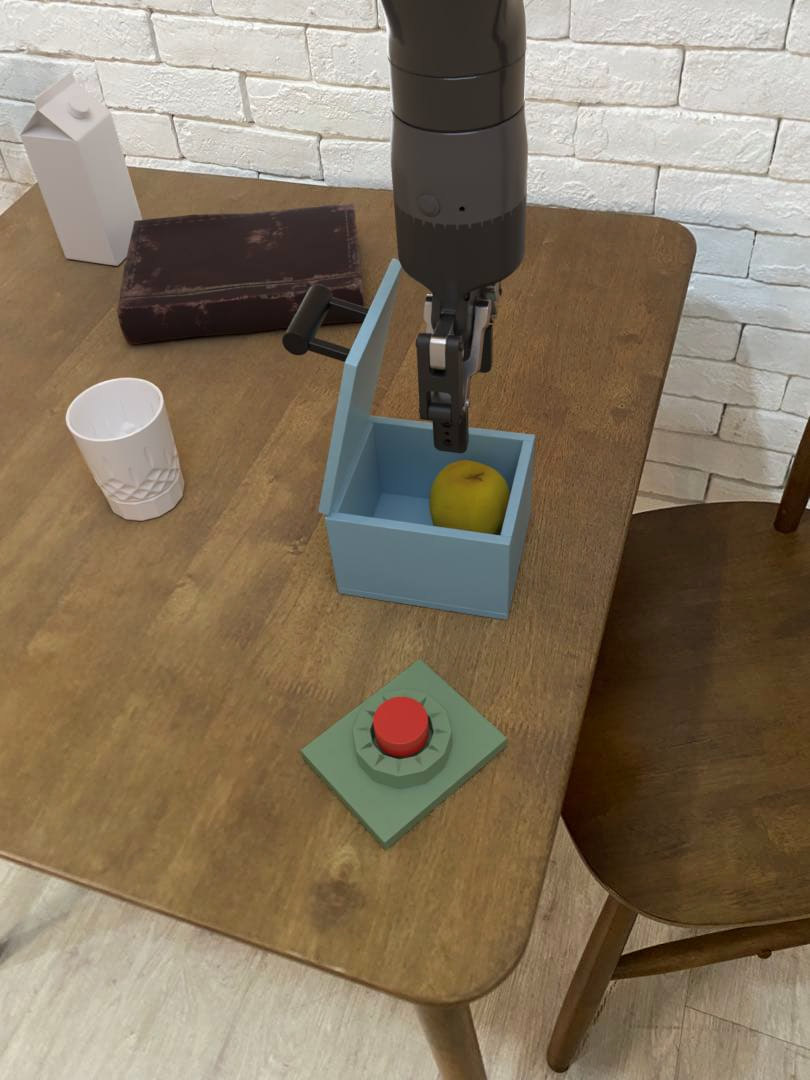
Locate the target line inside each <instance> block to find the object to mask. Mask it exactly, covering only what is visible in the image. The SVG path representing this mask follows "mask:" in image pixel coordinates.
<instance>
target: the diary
mask: <svg viewBox="0 0 810 1080" xmlns="http://www.w3.org/2000/svg"><path fill="white" fill-rule="evenodd" d="M361 264H362V263H361V253H360V245H359V235H358V228H357V217H356V207H355V203H354V202H346V203H345V202H344V203H336V204H335V203H334V204H325V205H317V206H307V207H296V208H286V209H275V210H267V211H257V212H256V211H255V212H246V213H245V212H244V213H243V212H242V213H241V212H240V213H206V214H205V213H201V214H199V213H198V214H186V215H176V216H167V217H166V216H165V217H157V218H148V219H142V220H138V221H134V225H133V230H132V234H131V239H130V243H129V248H128V253H127V257H126V258H125V262H124V269H123V274H122V280H121V286H120V292H119V297H118V298H119V299H118V304H117V308H116V313H117V318H118V323H119V327H120V330H121V333H122V335H123V338H124V339H125V341H126V343H127V344H128V345H139V344H147V343H153V342H160V341H161V342H162V341H169V340H177V339H183V338H185V339H186V338H193V337H205V336H217V335H218V336H220V335H231V334H232V335H233V334H243V333H244V334H246V333H255V332H263V331H270V330H278V329H287V328H288V327H289V325H290V323H291V321H292V319H293V318H294V316H295V314H296V312H297V310H298V308H299V307H300V305H301V303H302V301H303V299H304V297H305V295H306V294H307V292H308V290H309V288H310V287H311V286H313V285H323V286H325V287H327V288H328V289H329V290H330V291H331V293H332V295H333V297H334V298H337V299H340V300H343V301H346V302H349V303H353V304H356V305H359V306H362V307H365V308H366V305H365V293H364V283H363V275H362V265H361ZM356 322H362V321H361V320H358V319H354V318H351V317H348V316H345V315H342V314H339V313H335V312H332V311H329V310H328V312H327V314H326V316H325V318H324V320H323V322H322V324H321V325H324V324H327V325H328V324H340V323H341V324H342V323H356Z"/></svg>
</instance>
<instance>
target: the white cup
mask: <svg viewBox="0 0 810 1080" xmlns="http://www.w3.org/2000/svg"><path fill="white" fill-rule="evenodd" d="M65 424H66V426H67V428H68V430H69V432H70V434H71V436H72V438H73V440H74V442H75V444H76V446H77V448H78V450H79V452H80V454H81V456H82V458H83V460H84V462H85V464H86V466H87V467H88V469H89V471H90V473H91V475H92V477H93V479H94V481H95V483H96V485H97V486H98V488H99V489H100V490H101V491H102V493H103V495H104V497H105V498H106V501H107V502H108V505H109V507H110V508H111V510H112V512H113V514H115V515H117V516H119V517H121V518H122V519H124V520H127V521H138V522H139V521H140V522H142V521H147V520H152V519H156V518H160V517H161V516H163V515H164V514H166V513H168V512H169V511H171V510H173V509H174V508H175V507H176V505H177V504H178V503H179V502H180V501H181V499H182V498H183V496H184V491H185V480H184V477H183V472H182V468H181V465H180V458H179V453H178V450H177V449H178V448H177V446H176V440H175V436H174V433H173V429H172V425H171V422H170V418H169V414H168V411H167V406H166V403H165V399H164V396H163V393H162V391H161V390H160V388H159V387H158V386H157V385H155V384H154V383H152V382H150V381H148V380H146V379H143V378H137V377H118V378H112V379H108V380H105V381H100V382H98V383H95V384H94V385H92V386H90V387H88V388H86V389H85V390H83V391H82V392H81V393H79V394H78V395H77V396H76V397H75V398H74V399H73V400H72V401H71V403H70V404H69V406H68V408H67V410H66V413H65Z"/></svg>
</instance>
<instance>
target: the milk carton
mask: <svg viewBox="0 0 810 1080" xmlns="http://www.w3.org/2000/svg"><path fill="white" fill-rule="evenodd" d="M32 100H33V102H34V103H33V104H34V106H35V109H36V111H35V112H34V113H33V115H32V116H31V118H30V120H29V121H28V122H27V124H26V125H25V127H24V128H23V129H22V131H21V132H20V134H19V137H20V139H21V142H22V144H23V147H24V150H25V152H26V156H27V157H28V160H29V164H30V166H31V169H32V171H33V174H34V177H35V180H36V182H37V184H38V187H39V190H40V192H41V195H42V198H43V201H44V204H45V206H46V209H47V211H48V214H49V217H50V220H51V222H52V225H53V227H54V231H55V232H56V236H57V238H58V242H59V243H60V246H61V250H62V252H63V255H64V257H65V259H67V260H72V261H73V260H74V261H79V262H80V261H81V262H87V263H95V264H101V265H108V266H115V267H118V266H119V265H120V264H122V262H124V261H125V260H126V257H127V253H128V248H129V243H130V239H131V234H132V230H133V225H134V221H138V220H143V217H142V213H141V210H140V207H139V203H138V199H137V196H136V193H135V190H134V186H133V183H132V179H131V176H130V172H129V168H128V165H127V163H126V158H125V155H124V152H123V149H122V145H121V142H120V139H119V135H118V132H117V128H116V125H115V121H114V118H113V114H112V112H111V110H110V109H109V108H108V107H106V106H105V105H104V103H102V102H101V101H99V100H98V99H97V98H96V97H95V96H94V95H93V94H91V93H90V92H89V91H87V90H86V88H84V87H83V86H82V85H80V83H78V82H77V81H76V79H75V76H74V72H73V71H72V70H70V71H68V72H67V73H66V74H65V75H63V76H62V77H60V78H59V79H58V80H56V81H55V82H54V83H53V84H51V85H50V86H49V87H47V88H46V89H45V90H43V91H42V92H41V93H39V95H37V96H36V97H34V98H33V99H32Z"/></svg>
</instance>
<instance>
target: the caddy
mask: <svg viewBox="0 0 810 1080" xmlns="http://www.w3.org/2000/svg"><path fill="white" fill-rule="evenodd" d="M535 445H536V434H531V433H522V432H514V431H505V430H496V429H488V428H480V427H471V426H469V443H468V447H467V450H466V452H464V453H453V452H445V451H439V450H437V449H436V448H435V447H434V439H433V422H431V421H429V422H428V421H422V420H413V419H405V418H404V419H403V418H395V417H386V416H379V415H371V414H370V415H369V418H368V420H367V423H366V425H365V427H364V430H363V432H362V435H361V437H360V440H359V442H358V445H357V447H356V450H355V452H354V454H353V457H352V459H351V462H350V464H349V467H348V469H347V472H346V474H345V476H344V479H343V481H342V484H341V486H340V489H339V491H338V494H337V496H336V499H335V501H334V503H333V506H332V508H331V511H330V513H329V515H325V517H324V523H325V528H326V529H325V530H326V533H327V540H328V546H329V551H330V556H331V561H332V567H333V572H334V578H335V582H336V587H337V588H336V589H337V593H338V594H339V595H347V596H353V597H359V598H365V599H372V600H378V601H385V602H391V603H396V604H403V605H408V606H415V607H422V608H427V609H428V608H429V609H433V610H434V609H435V610H441V611H447V612H453V613H458V614H459V613H460V614H465V615H472V616H477V617H478V616H479V617H483V618H484V617H485V618H491V619H496V620H502V621H508V619H509V615H510V610H511V606H512V601H513V597H514V592H515V587H516V583H517V579H518V574H519V569H520V564H521V561H522V560H521V559H522V555H523V552H524V551H523V550H524V546H525V542H526V537H527V532H528V527H529V524H530V523H529V522H530V518H531V514H532V501H533V500H532V499H533V484H534V483H533V482H534V465H535V463H534V462H535ZM460 460H470V461H475V462H479V463H482V464H484V465H487V466H489V467H492V468H493V469H495V470H497V471H498V472H499V473H500V474H501V475H502V476H503V478H504V479H505V481H506V483H507V485H508V487H509V491H510V498H509V502H508V506H507V511H506V515H505V519H504V523H503V527H502V531H501V533H500V534H499V535H493V534H486V533H479V532H472V531H465V530H458V529H451V528H444V527H437V526H434V525H433V522H432V519H431V514H430V508H429V499H430V492H431V488H432V485H433V482H434V480H435V478H436V477H437V475H438V474H439V473H440V472H441V471H442V470H443V469H444V468H445V467H446V466H448V465H449V464H451V463H454V462H456V461H460Z"/></svg>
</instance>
